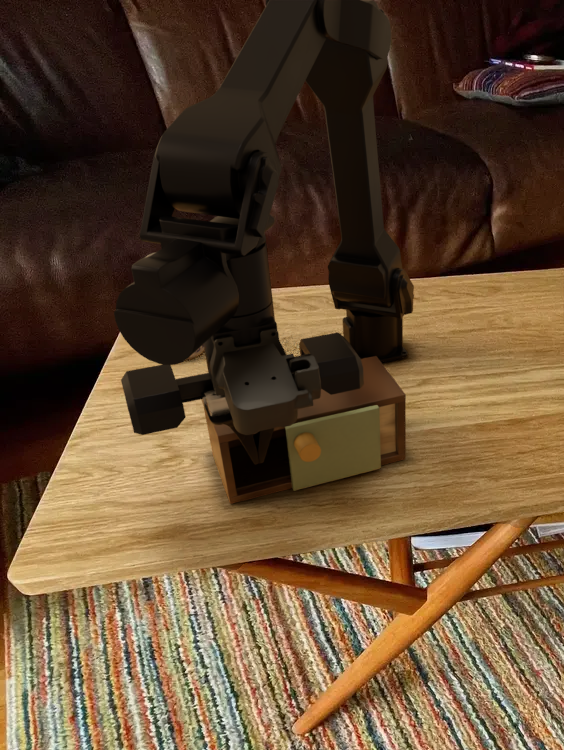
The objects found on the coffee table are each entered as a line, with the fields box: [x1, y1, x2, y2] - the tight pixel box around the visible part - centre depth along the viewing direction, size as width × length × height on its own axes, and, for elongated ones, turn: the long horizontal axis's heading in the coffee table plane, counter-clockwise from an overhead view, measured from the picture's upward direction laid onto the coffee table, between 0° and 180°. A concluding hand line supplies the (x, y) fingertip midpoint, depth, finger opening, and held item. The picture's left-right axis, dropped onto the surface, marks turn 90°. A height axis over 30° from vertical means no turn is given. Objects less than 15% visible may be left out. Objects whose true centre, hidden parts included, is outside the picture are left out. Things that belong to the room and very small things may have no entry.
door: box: [285, 405, 382, 492], centre depth 72 cm, size 9×3×7 cm, turn 115°
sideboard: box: [202, 356, 407, 505], centre depth 76 cm, size 18×8×8 cm, turn 115°
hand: (257, 461), depth 68 cm, fingers closed
